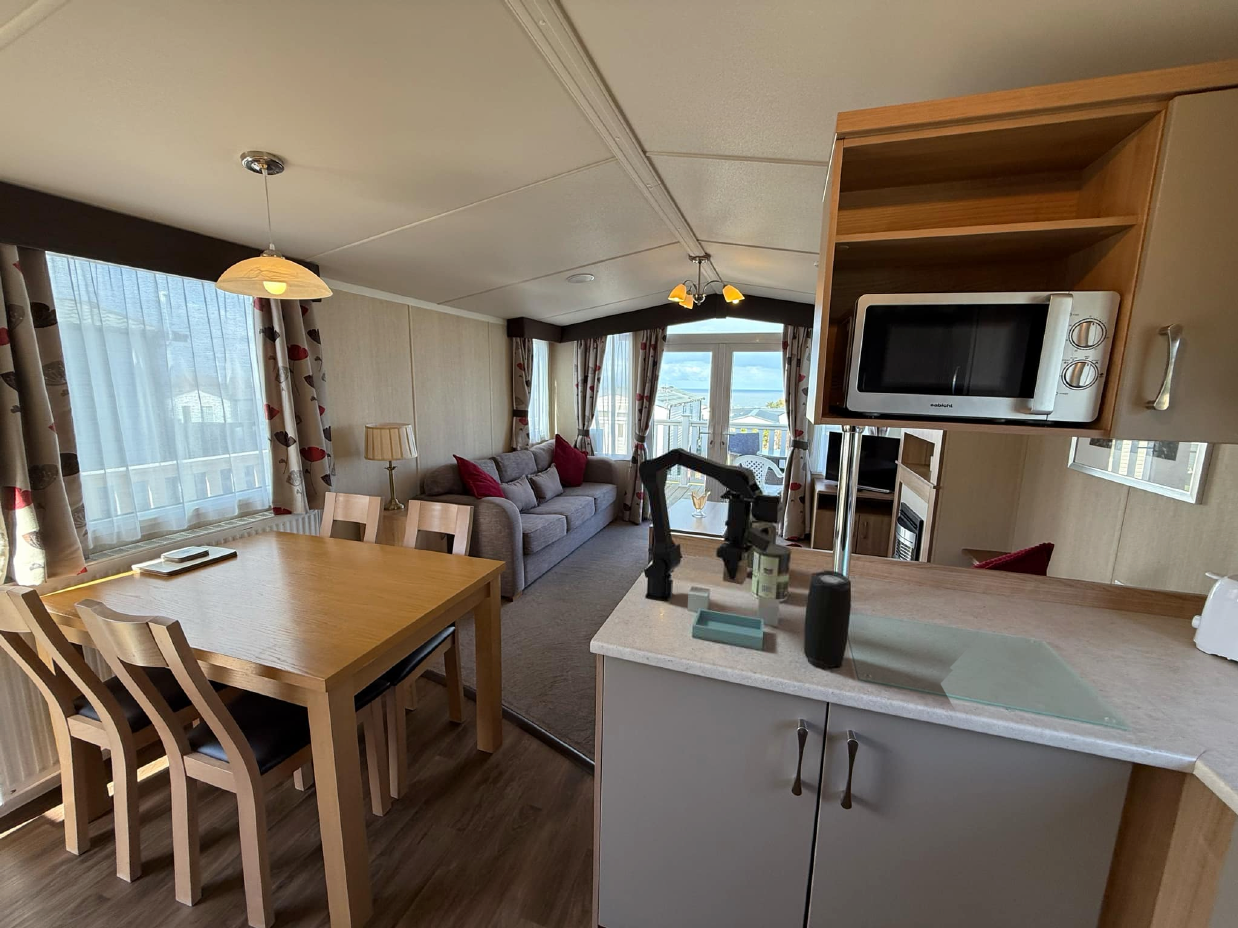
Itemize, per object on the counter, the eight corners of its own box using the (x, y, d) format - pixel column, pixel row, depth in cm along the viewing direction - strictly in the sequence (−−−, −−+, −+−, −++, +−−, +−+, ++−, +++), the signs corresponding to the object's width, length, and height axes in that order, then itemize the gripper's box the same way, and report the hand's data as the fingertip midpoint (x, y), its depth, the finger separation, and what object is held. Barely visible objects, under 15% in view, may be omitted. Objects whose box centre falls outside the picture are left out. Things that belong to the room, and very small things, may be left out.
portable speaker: (797, 663, 105) (805, 577, 102) (807, 645, 113) (815, 565, 110) (840, 677, 100) (849, 587, 98) (847, 657, 108) (856, 574, 105)
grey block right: (757, 622, 124) (758, 604, 123) (758, 614, 128) (759, 596, 128) (777, 626, 122) (779, 607, 121) (777, 617, 127) (779, 599, 126)
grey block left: (687, 610, 129) (688, 593, 128) (690, 603, 134) (691, 586, 133) (706, 614, 128) (707, 596, 127) (708, 606, 132) (709, 589, 132)
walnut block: (722, 580, 124) (724, 562, 124) (727, 574, 129) (728, 556, 128) (742, 584, 122) (743, 565, 121) (746, 578, 127) (747, 560, 126)
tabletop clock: (751, 565, 165) (757, 493, 162) (775, 573, 158) (781, 498, 155) (725, 574, 156) (730, 498, 152) (749, 583, 149) (755, 504, 146)
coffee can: (781, 588, 146) (784, 543, 144) (792, 602, 136) (796, 554, 134) (746, 586, 146) (750, 542, 144) (755, 601, 136) (759, 553, 134)
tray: (691, 636, 115) (692, 625, 115) (698, 619, 124) (698, 608, 124) (761, 649, 110) (762, 637, 110) (762, 630, 119) (763, 619, 119)
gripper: (765, 531, 111) (760, 595, 113) (777, 513, 128) (772, 570, 130) (717, 524, 116) (713, 585, 118) (734, 508, 133) (731, 562, 135)
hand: (734, 575), depth 125 cm, fingers closed on walnut block, 5 cm apart
